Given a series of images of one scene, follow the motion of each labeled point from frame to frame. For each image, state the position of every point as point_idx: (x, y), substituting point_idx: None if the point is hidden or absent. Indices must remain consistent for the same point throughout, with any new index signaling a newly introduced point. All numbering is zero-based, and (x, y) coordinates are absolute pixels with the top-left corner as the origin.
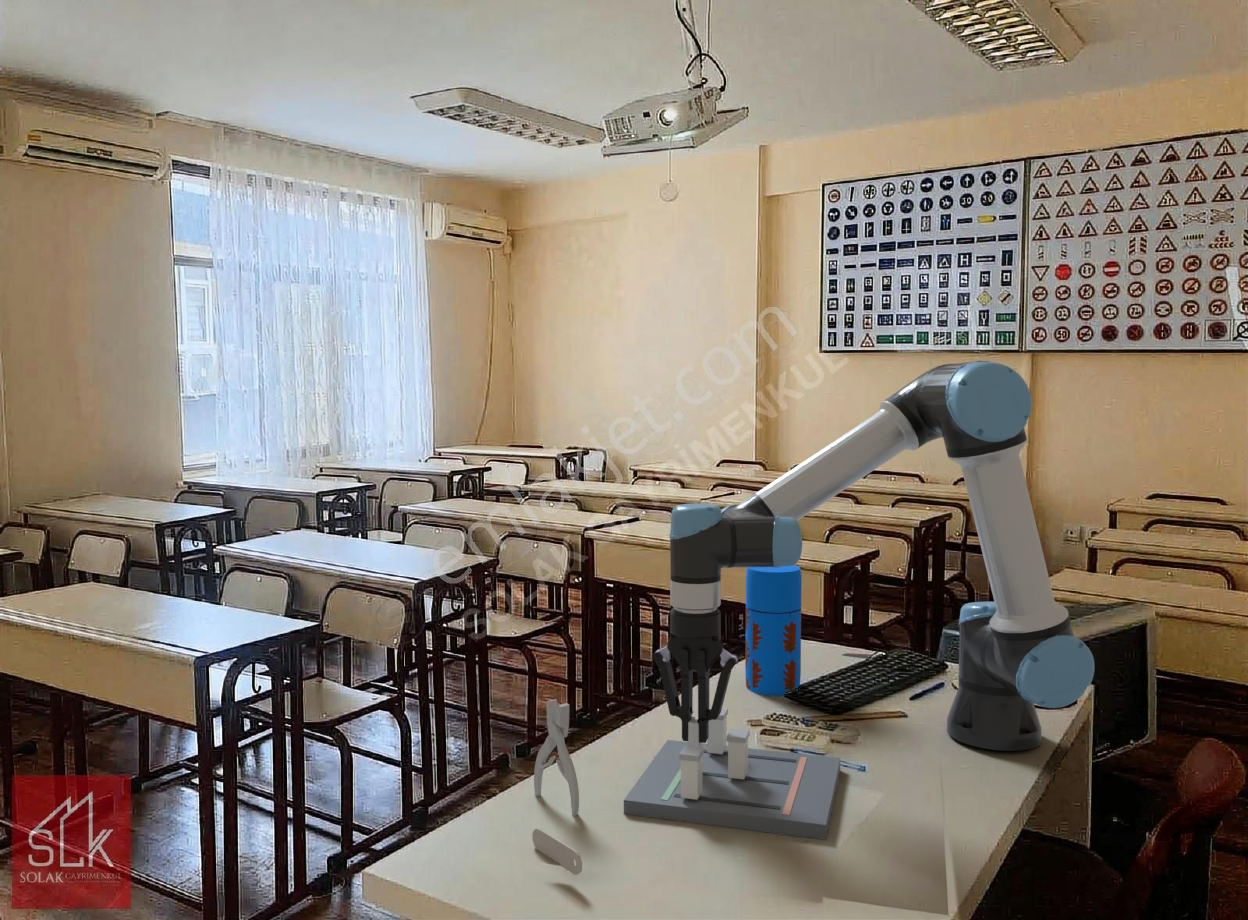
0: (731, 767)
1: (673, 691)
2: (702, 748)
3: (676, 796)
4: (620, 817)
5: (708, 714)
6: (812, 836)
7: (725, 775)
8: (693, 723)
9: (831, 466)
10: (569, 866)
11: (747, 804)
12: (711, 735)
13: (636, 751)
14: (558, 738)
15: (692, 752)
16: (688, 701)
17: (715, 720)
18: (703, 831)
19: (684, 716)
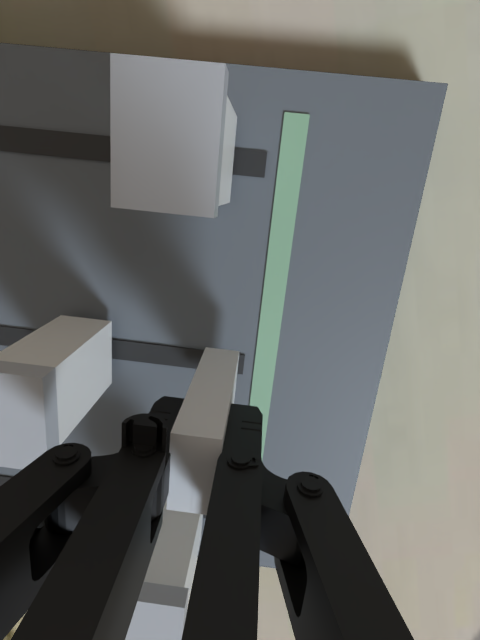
0: (86, 330)
1: (326, 626)
2: (115, 184)
3: (257, 151)
4: (437, 62)
5: (102, 475)
6: None
7: (129, 352)
8: (195, 434)
9: None
10: None
11: (16, 133)
12: (182, 534)
13: (415, 541)
14: None
15: (155, 109)
16: (206, 535)
17: (153, 581)
18: (153, 9)
19: (241, 460)
